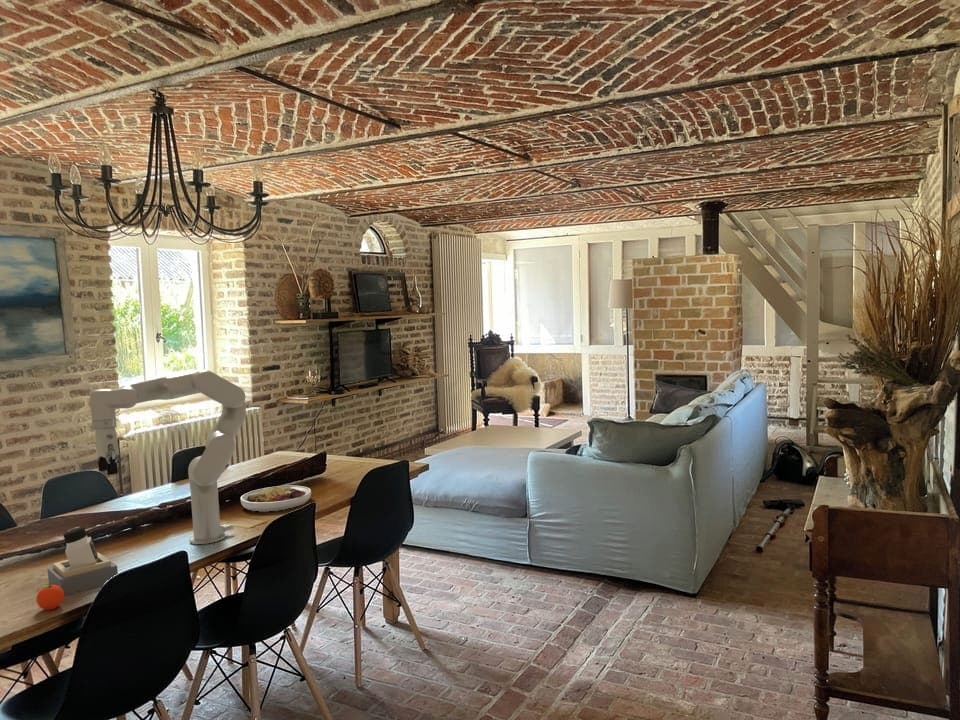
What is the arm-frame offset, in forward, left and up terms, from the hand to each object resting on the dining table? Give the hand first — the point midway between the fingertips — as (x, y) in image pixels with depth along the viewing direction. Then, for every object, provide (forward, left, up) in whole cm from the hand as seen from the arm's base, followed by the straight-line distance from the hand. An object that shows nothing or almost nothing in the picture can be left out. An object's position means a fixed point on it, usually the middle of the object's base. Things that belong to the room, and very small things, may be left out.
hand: (108, 472), depth 248 cm
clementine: (+28, +35, -31) cm, 54 cm away
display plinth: (+15, +19, -30) cm, 39 cm away
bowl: (-72, -18, -31) cm, 80 cm away
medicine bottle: (+14, +19, -25) cm, 34 cm away
